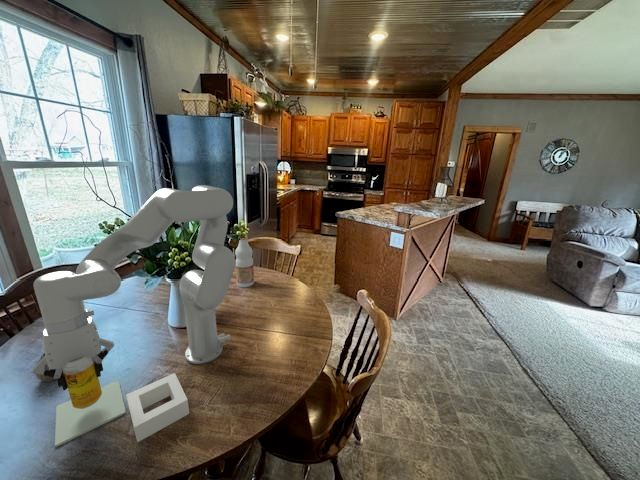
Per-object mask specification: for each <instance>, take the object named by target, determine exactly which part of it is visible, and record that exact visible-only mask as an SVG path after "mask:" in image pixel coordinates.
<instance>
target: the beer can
mask: <svg viewBox="0 0 640 480" xmlns="http://www.w3.org/2000/svg"><path fill="white" fill-rule="evenodd" d="M63 374H64V377H65V381H66V384H67V391H68V394H69V397H70V400H71V401H72V405H73V407H74V408H78V409H84V408H87V407H90V406H92V405H93V404H95V403H96V402H97V401H98V400H99V398H100V397H101V395H102V391H101V387H102V386H101V383H100V379H99V378H100V377H97V373H96V369H95V362H94V360H93V359H92V358H86V357H83V358H81V359H78V360H76V361H73V362H68V363H67V364H66V366H65V367H63Z"/></svg>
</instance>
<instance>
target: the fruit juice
mask: <svg viewBox="0 0 640 480" xmlns="http://www.w3.org/2000/svg"><path fill="white" fill-rule="evenodd" d="M238 240H239V239H238ZM248 241H249V236H248V235H246V237H245V238H244V239H242V240H239V241H238V245H237V247H236V249H235V252H234V254H235V257H236V259H235V275H236V286H237V287H239V288H249V287H252V286H253V285H254V283H255V276H254V274H255V271H254V258H253V253H254V251H253V249H252V247H251V246H250V244H249V242H248Z"/></svg>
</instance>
